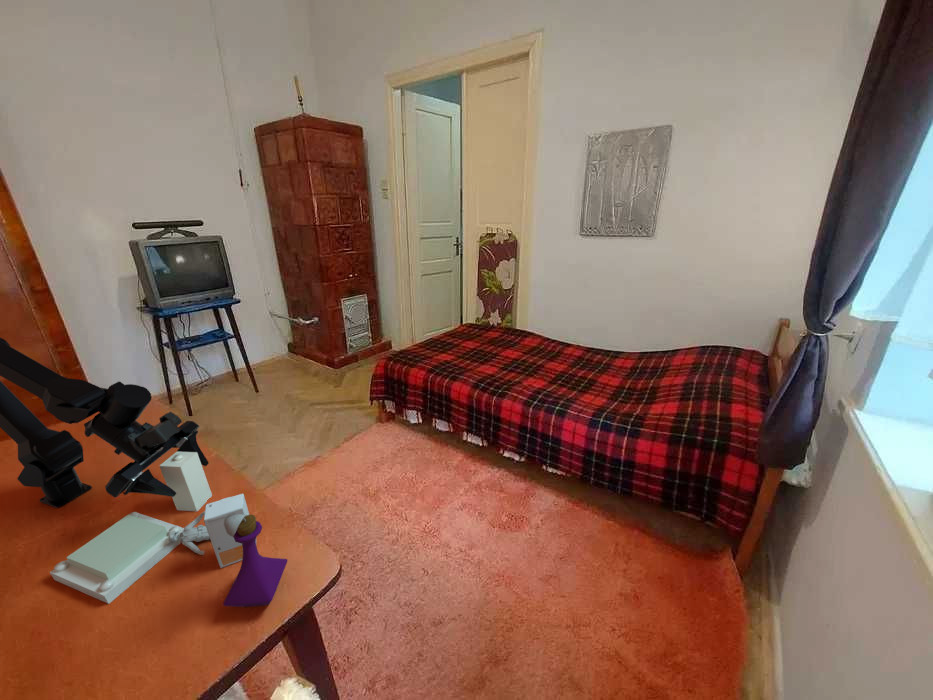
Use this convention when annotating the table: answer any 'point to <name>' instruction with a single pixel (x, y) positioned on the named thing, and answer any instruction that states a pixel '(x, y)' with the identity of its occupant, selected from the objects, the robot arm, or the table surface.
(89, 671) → the table surface
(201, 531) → the soldier figure
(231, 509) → the skincare box
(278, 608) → the table surface
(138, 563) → the studded pedestal base
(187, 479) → the tall brick
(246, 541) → the perfume bottle
